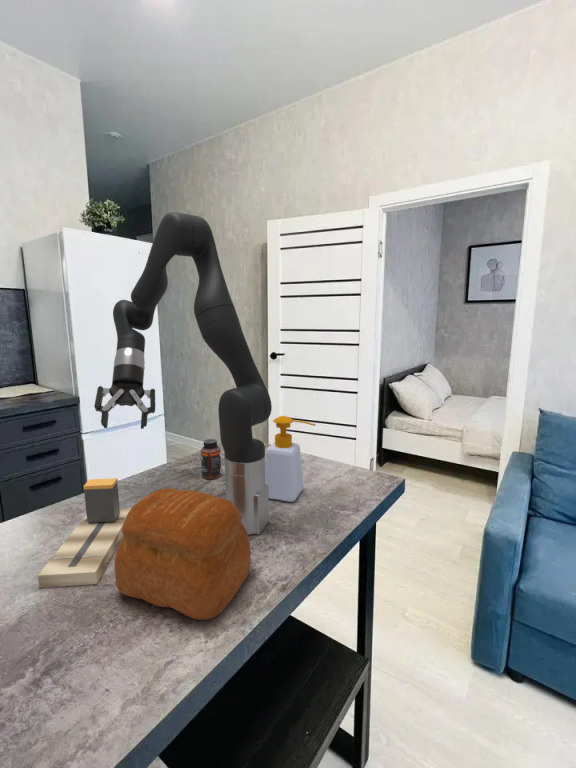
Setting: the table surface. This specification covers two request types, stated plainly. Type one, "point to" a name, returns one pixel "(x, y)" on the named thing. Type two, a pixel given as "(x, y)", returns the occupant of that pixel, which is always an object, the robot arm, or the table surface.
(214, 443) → the supplement bottle
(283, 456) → the soap bottle
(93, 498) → the fader knob
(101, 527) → the grooved wooden slider track
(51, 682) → the table surface
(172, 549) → the bread
